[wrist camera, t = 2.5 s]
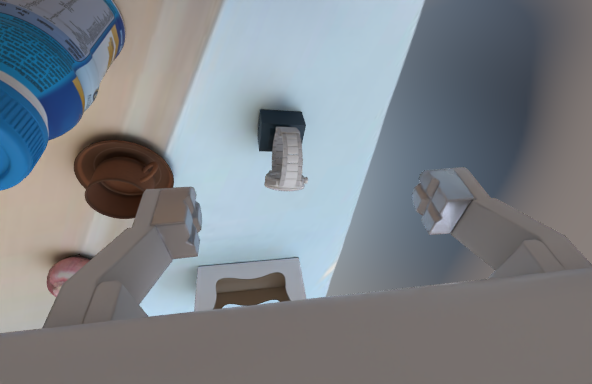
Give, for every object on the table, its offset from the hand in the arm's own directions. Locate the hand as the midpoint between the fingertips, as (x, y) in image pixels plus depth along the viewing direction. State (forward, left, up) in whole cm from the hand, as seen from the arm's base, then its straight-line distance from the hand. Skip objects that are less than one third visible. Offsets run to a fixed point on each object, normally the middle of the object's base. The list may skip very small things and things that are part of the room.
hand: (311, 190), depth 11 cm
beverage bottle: (-11, -14, -27) cm, 32 cm away
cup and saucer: (+1, -29, -27) cm, 40 cm away
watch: (+12, -10, -27) cm, 31 cm away
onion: (+5, -56, -27) cm, 62 cm away
